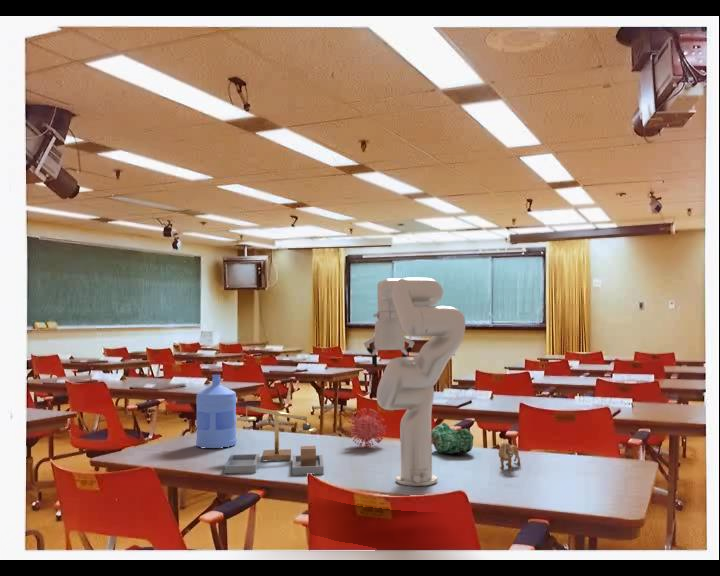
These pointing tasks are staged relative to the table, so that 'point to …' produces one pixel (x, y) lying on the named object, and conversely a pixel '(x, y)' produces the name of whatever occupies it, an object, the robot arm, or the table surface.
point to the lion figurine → (508, 454)
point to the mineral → (451, 439)
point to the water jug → (216, 416)
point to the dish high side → (242, 463)
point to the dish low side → (301, 470)
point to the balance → (277, 453)
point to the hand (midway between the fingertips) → (389, 366)
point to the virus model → (366, 428)
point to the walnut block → (308, 455)
